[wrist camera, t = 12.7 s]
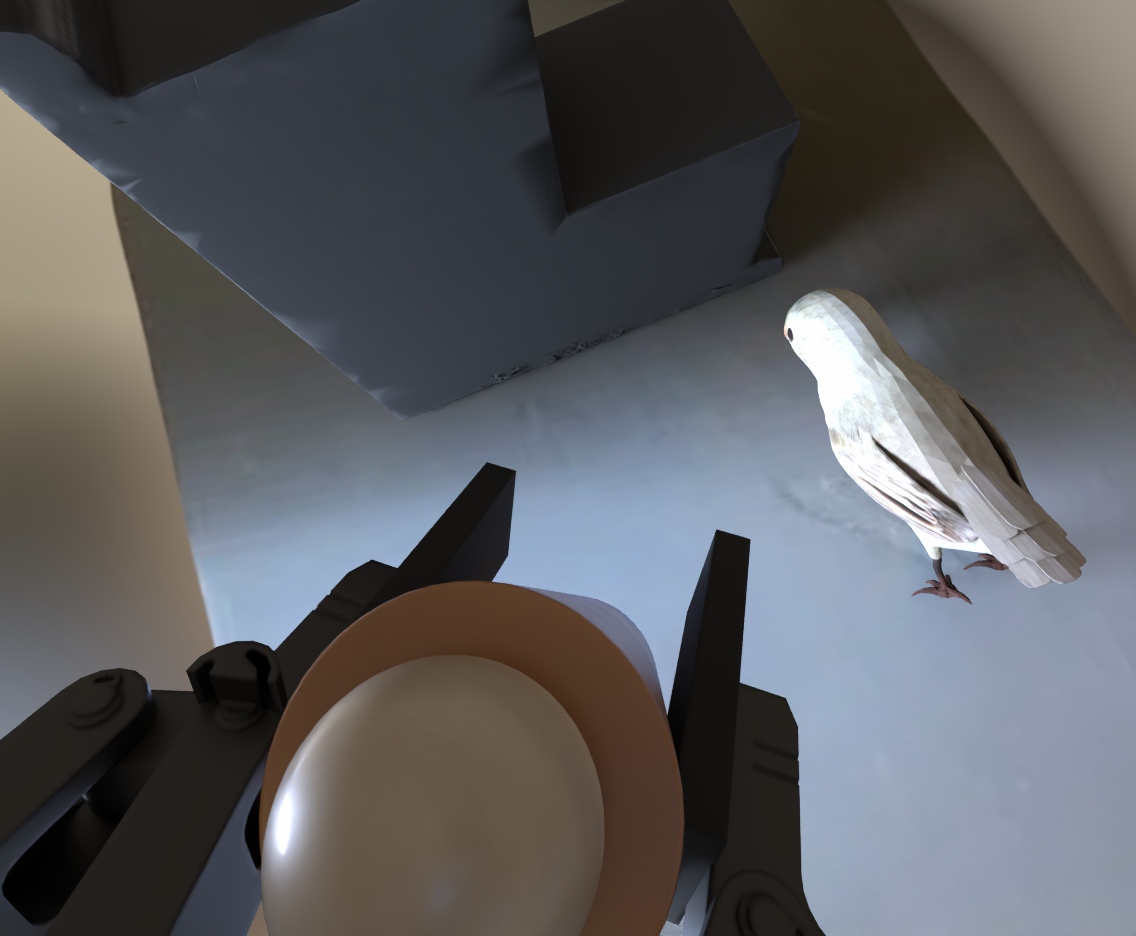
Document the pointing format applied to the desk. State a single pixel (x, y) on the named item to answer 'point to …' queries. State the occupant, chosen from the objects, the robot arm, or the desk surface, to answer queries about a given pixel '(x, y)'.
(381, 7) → the bookend
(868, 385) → the decorative bird
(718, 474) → the desk surface
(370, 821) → the pepper mill
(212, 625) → the desk surface
